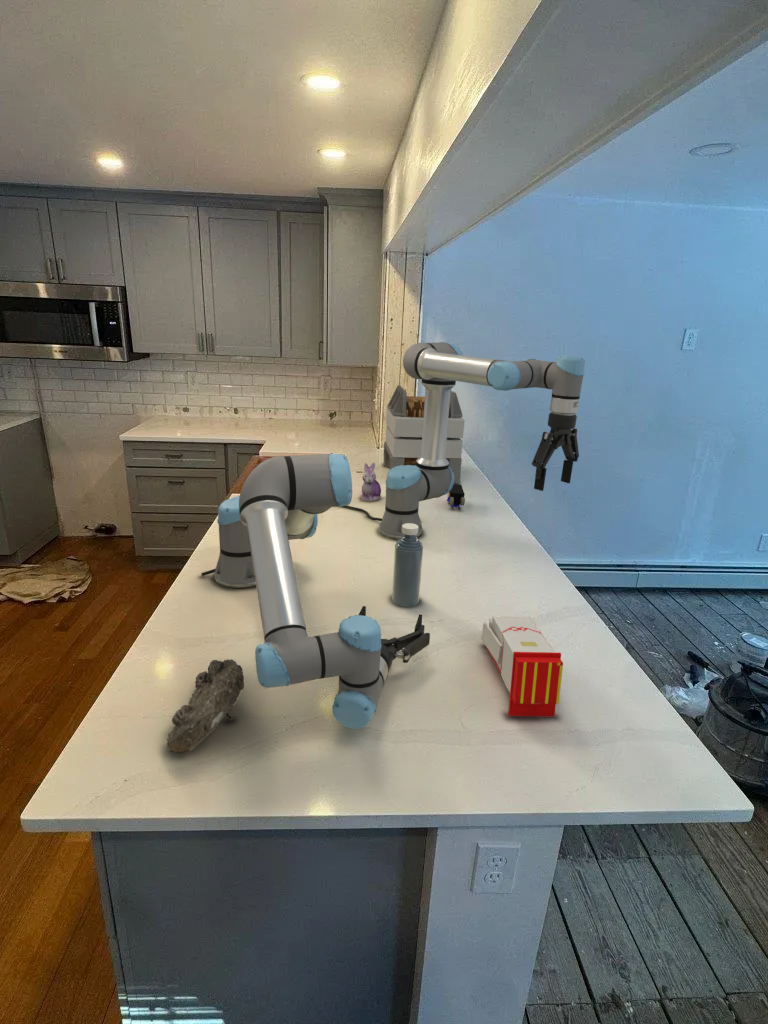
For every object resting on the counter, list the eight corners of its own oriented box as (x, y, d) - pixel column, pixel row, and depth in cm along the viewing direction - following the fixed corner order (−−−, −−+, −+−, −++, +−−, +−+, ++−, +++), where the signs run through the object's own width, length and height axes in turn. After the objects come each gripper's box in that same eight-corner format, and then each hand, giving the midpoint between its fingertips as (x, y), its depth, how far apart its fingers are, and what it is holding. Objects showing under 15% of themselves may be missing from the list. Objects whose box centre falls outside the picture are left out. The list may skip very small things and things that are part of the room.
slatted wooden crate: (382, 463, 289) (386, 382, 275) (445, 464, 293) (451, 384, 279) (390, 482, 257) (394, 392, 243) (460, 483, 261) (468, 394, 247)
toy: (528, 601, 136) (572, 659, 107) (523, 653, 139) (565, 722, 110) (478, 600, 136) (508, 657, 107) (474, 652, 139) (503, 722, 109)
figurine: (365, 503, 229) (367, 467, 224) (355, 495, 237) (356, 461, 232) (386, 500, 233) (388, 465, 228) (375, 493, 242) (376, 459, 237)
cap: (419, 530, 149) (419, 524, 149) (416, 536, 145) (416, 530, 145) (403, 528, 150) (404, 522, 150) (400, 534, 146) (400, 527, 146)
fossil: (192, 660, 117) (244, 628, 112) (224, 691, 120) (276, 661, 115) (142, 746, 98) (202, 712, 93) (182, 779, 101) (242, 748, 96)
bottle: (421, 596, 157) (426, 524, 150) (416, 608, 150) (421, 534, 143) (395, 592, 159) (399, 521, 152) (389, 604, 152) (393, 530, 145)
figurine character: (465, 514, 225) (460, 498, 239) (467, 497, 222) (461, 482, 235) (448, 514, 225) (444, 498, 239) (450, 496, 222) (445, 481, 235)
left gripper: (312, 672, 118) (341, 621, 138) (430, 692, 114) (443, 637, 133) (312, 641, 116) (341, 593, 136) (433, 660, 111) (445, 608, 131)
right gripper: (548, 419, 148) (537, 496, 155) (598, 411, 163) (586, 482, 171) (525, 414, 153) (515, 489, 160) (575, 407, 169) (564, 476, 176)
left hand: (392, 615), depth 134 cm, fingers open, 13 cm apart
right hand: (552, 485), depth 166 cm, fingers open, 13 cm apart
